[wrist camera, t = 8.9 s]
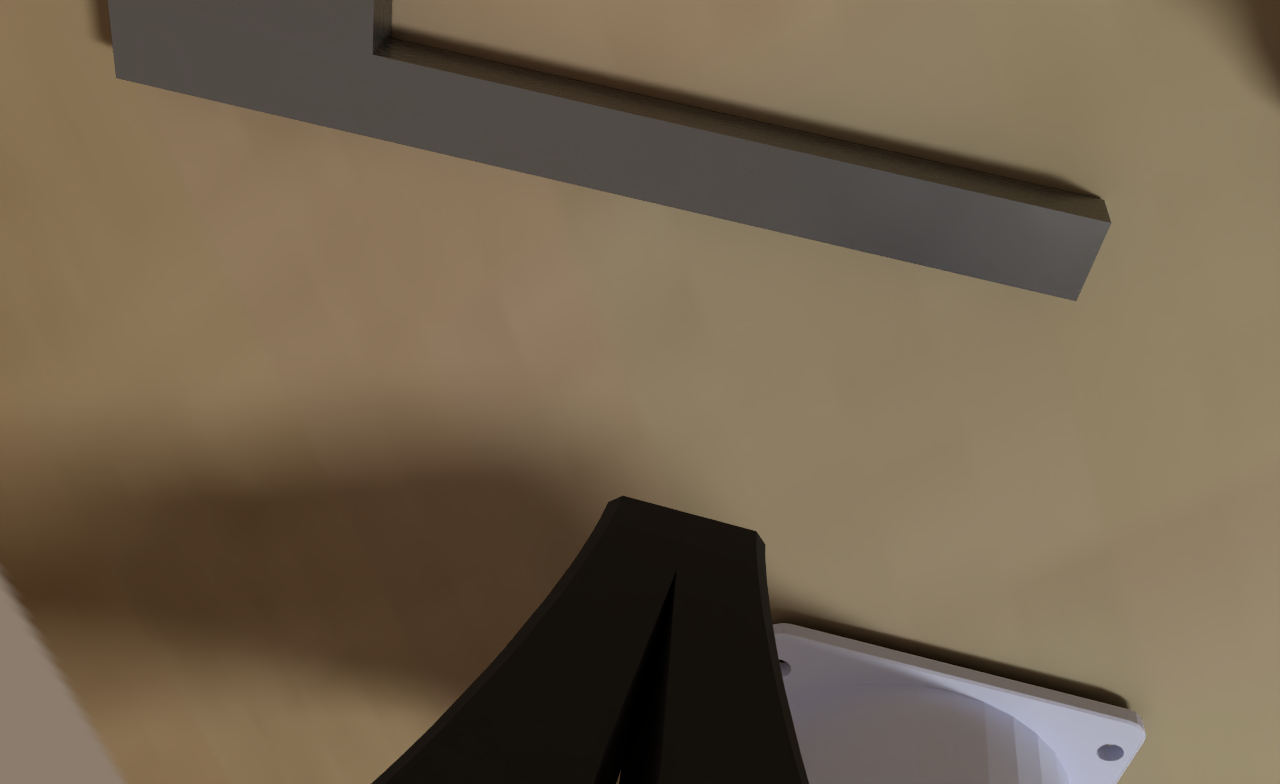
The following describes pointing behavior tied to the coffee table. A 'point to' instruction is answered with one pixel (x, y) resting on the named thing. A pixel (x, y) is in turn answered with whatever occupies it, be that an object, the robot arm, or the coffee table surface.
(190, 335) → the coffee table surface
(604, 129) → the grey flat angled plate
